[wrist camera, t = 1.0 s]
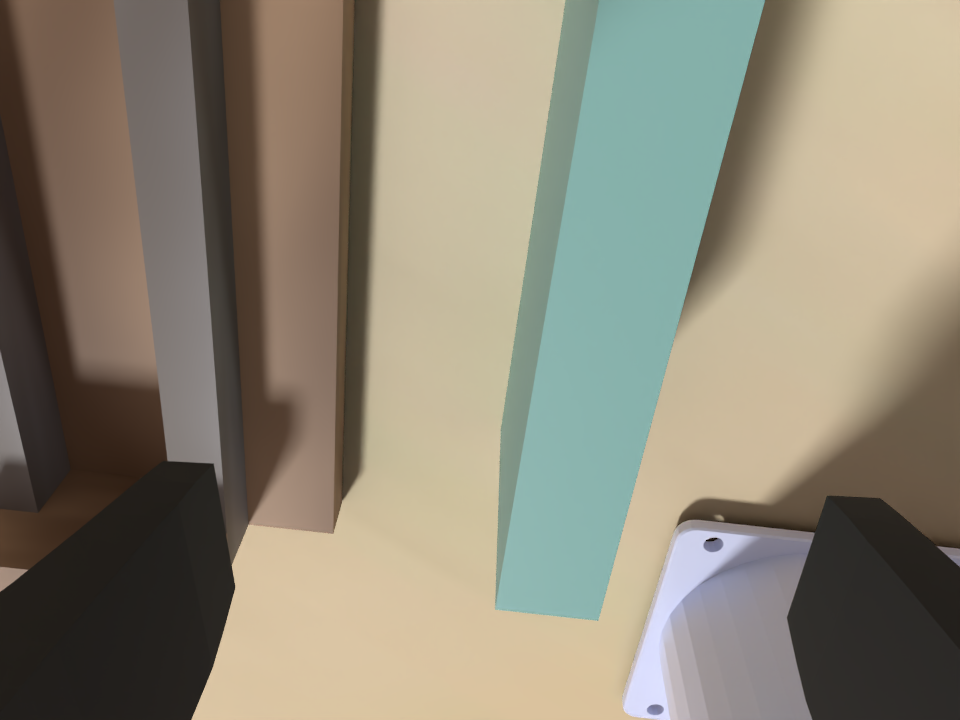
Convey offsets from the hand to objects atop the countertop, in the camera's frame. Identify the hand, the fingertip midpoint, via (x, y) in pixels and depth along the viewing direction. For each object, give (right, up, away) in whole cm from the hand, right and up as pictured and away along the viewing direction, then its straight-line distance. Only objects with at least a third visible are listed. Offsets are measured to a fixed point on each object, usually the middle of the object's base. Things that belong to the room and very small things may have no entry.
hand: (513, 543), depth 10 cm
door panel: (+2, +5, +8) cm, 10 cm away
